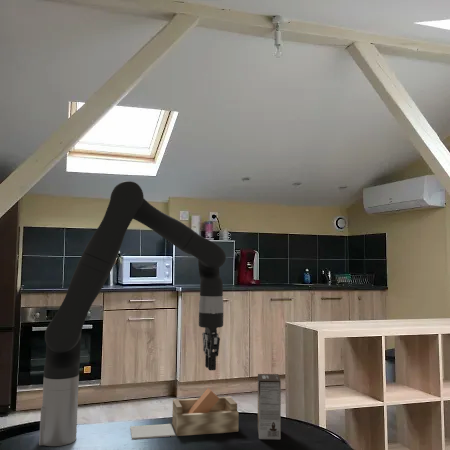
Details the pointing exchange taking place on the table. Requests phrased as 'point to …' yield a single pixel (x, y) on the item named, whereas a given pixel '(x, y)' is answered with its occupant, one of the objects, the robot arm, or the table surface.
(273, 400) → the coffee box
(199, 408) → the orange rectangular block
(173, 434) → the mat
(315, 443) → the table surface
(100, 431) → the table surface
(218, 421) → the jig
